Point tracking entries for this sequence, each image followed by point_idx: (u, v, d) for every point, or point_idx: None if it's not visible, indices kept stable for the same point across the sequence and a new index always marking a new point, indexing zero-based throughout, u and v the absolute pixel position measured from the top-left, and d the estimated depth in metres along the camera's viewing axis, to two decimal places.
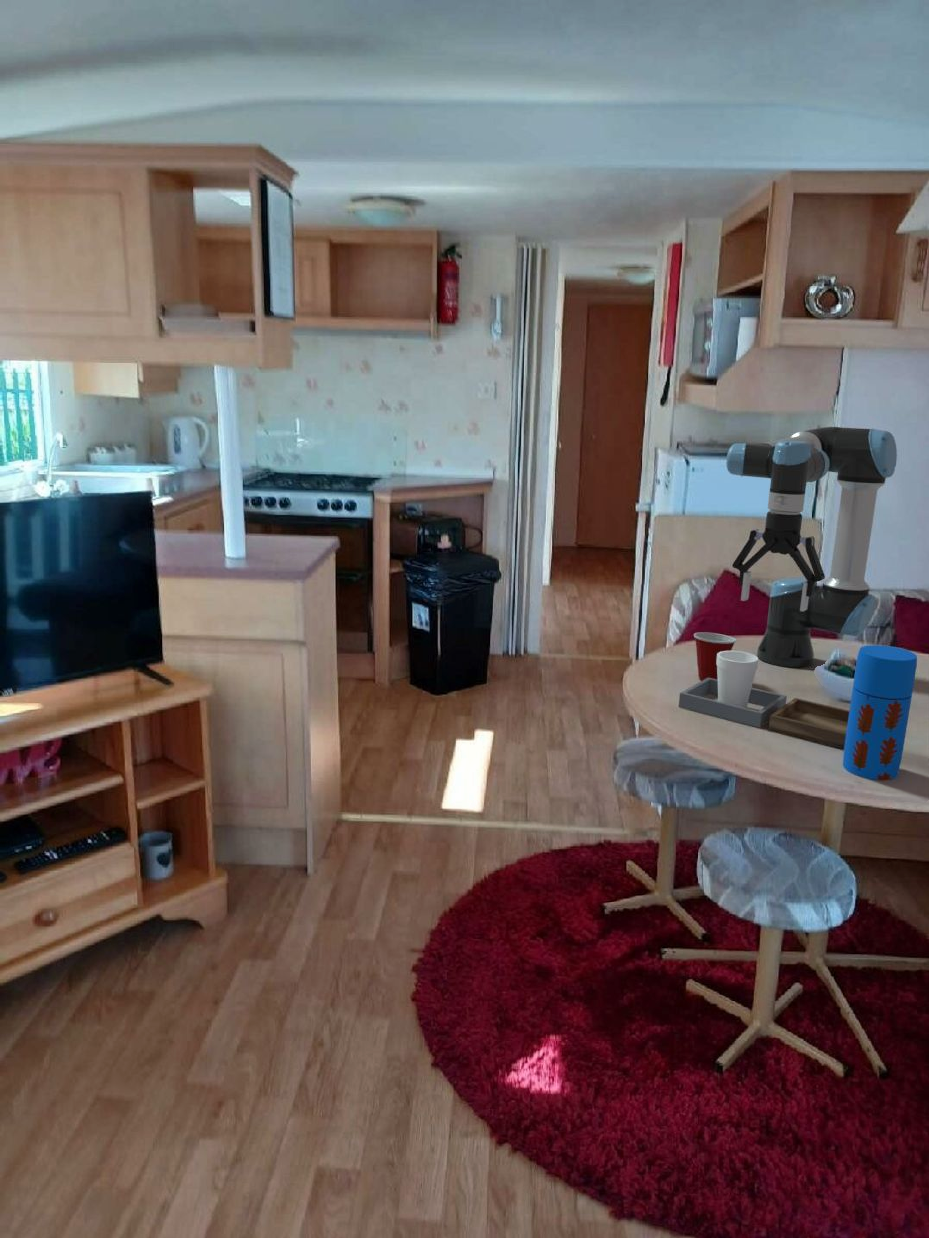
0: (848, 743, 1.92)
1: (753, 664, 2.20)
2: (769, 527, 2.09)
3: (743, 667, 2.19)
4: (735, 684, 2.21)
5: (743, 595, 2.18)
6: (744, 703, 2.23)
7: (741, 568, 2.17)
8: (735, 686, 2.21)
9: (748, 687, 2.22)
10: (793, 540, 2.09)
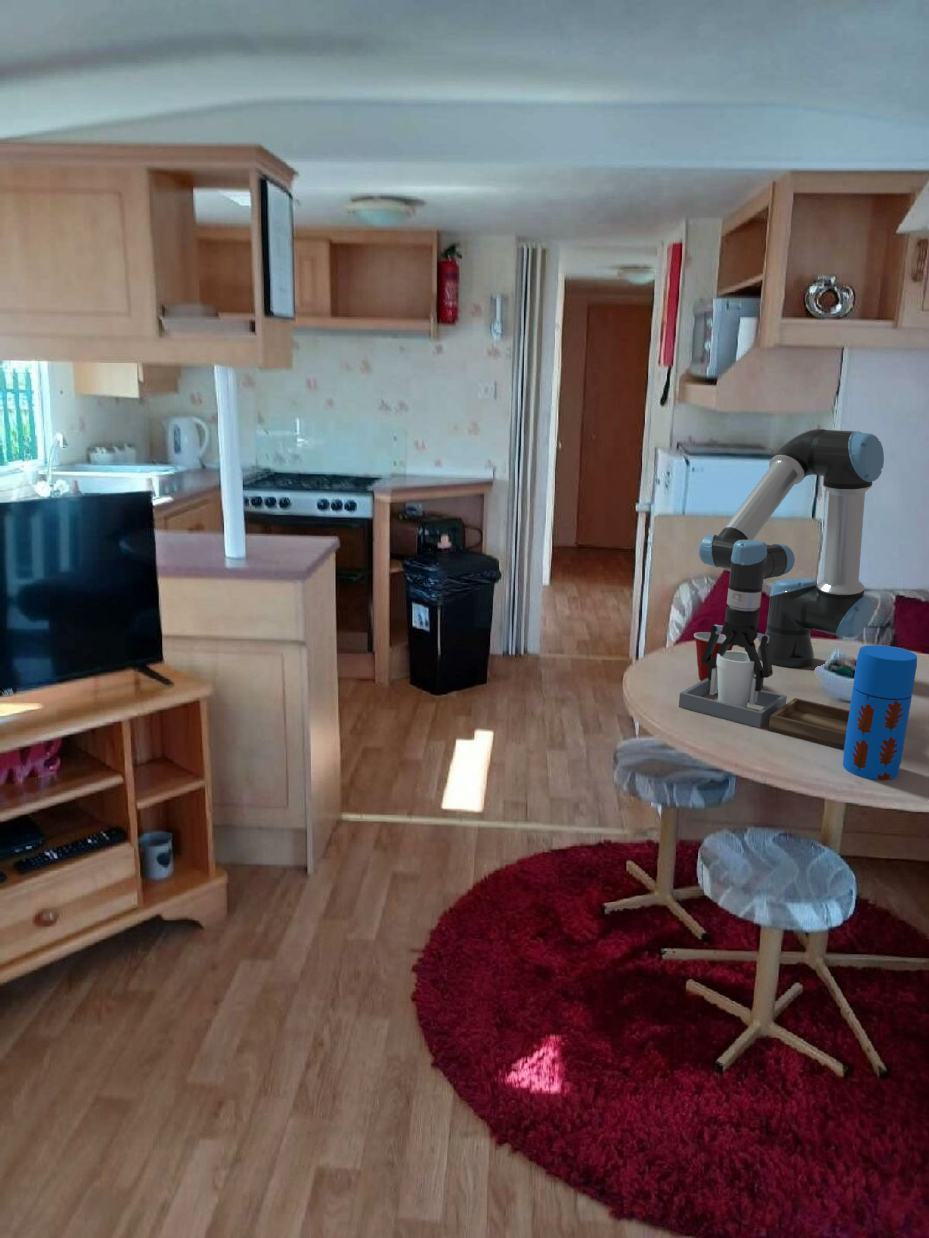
0: (848, 743, 1.92)
1: (753, 664, 2.20)
2: (728, 622, 2.20)
3: (743, 667, 2.19)
4: (735, 684, 2.21)
5: (711, 689, 2.28)
6: (744, 703, 2.23)
7: (709, 664, 2.27)
8: (735, 686, 2.21)
9: (748, 687, 2.22)
10: (750, 634, 2.19)
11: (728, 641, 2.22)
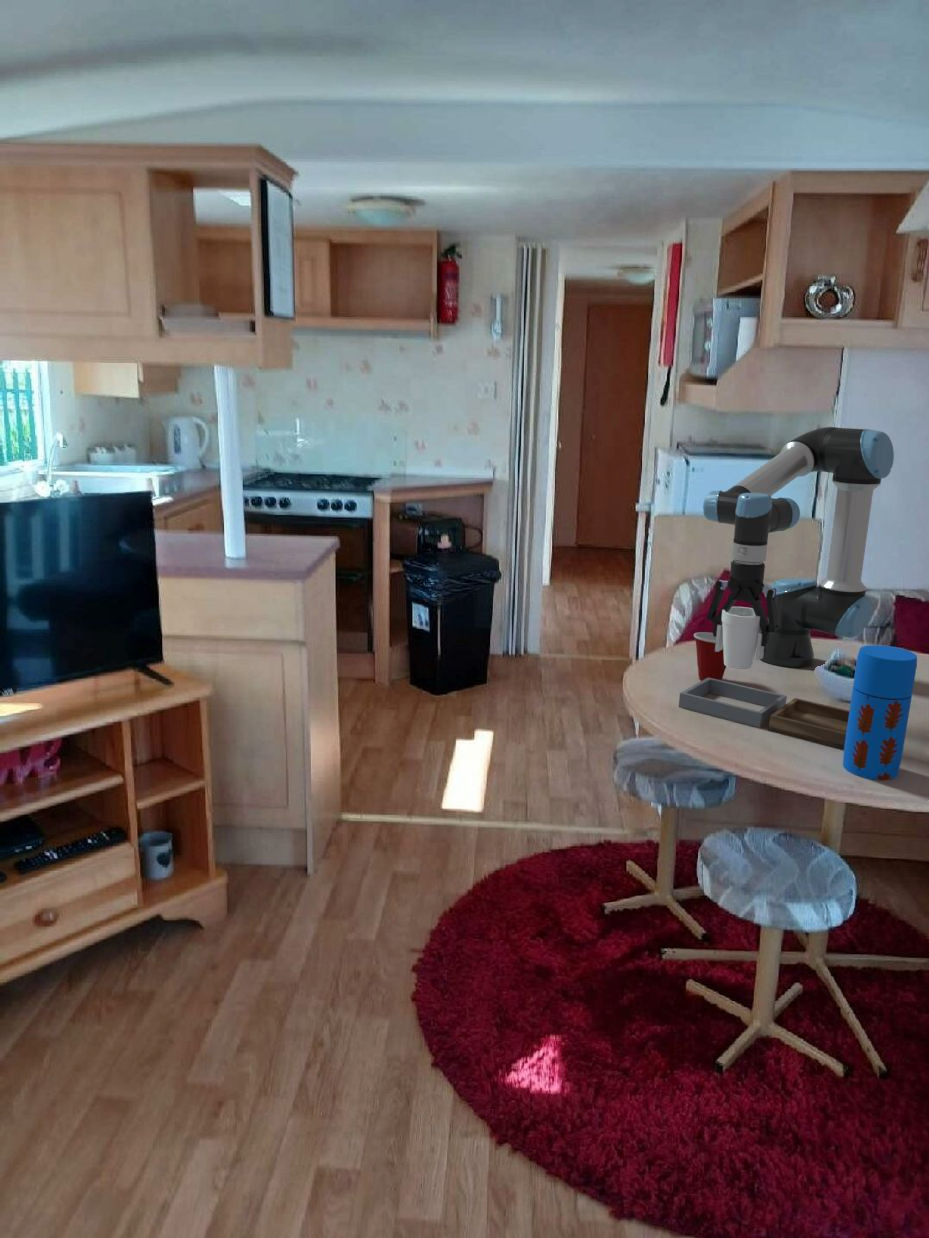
0: (848, 743, 1.92)
1: (759, 619, 2.17)
2: (733, 576, 2.17)
3: (749, 622, 2.17)
4: (741, 639, 2.18)
5: (717, 646, 2.25)
6: (750, 659, 2.21)
7: (715, 620, 2.24)
8: (741, 641, 2.19)
9: (754, 642, 2.19)
10: (756, 588, 2.16)
11: (733, 596, 2.20)
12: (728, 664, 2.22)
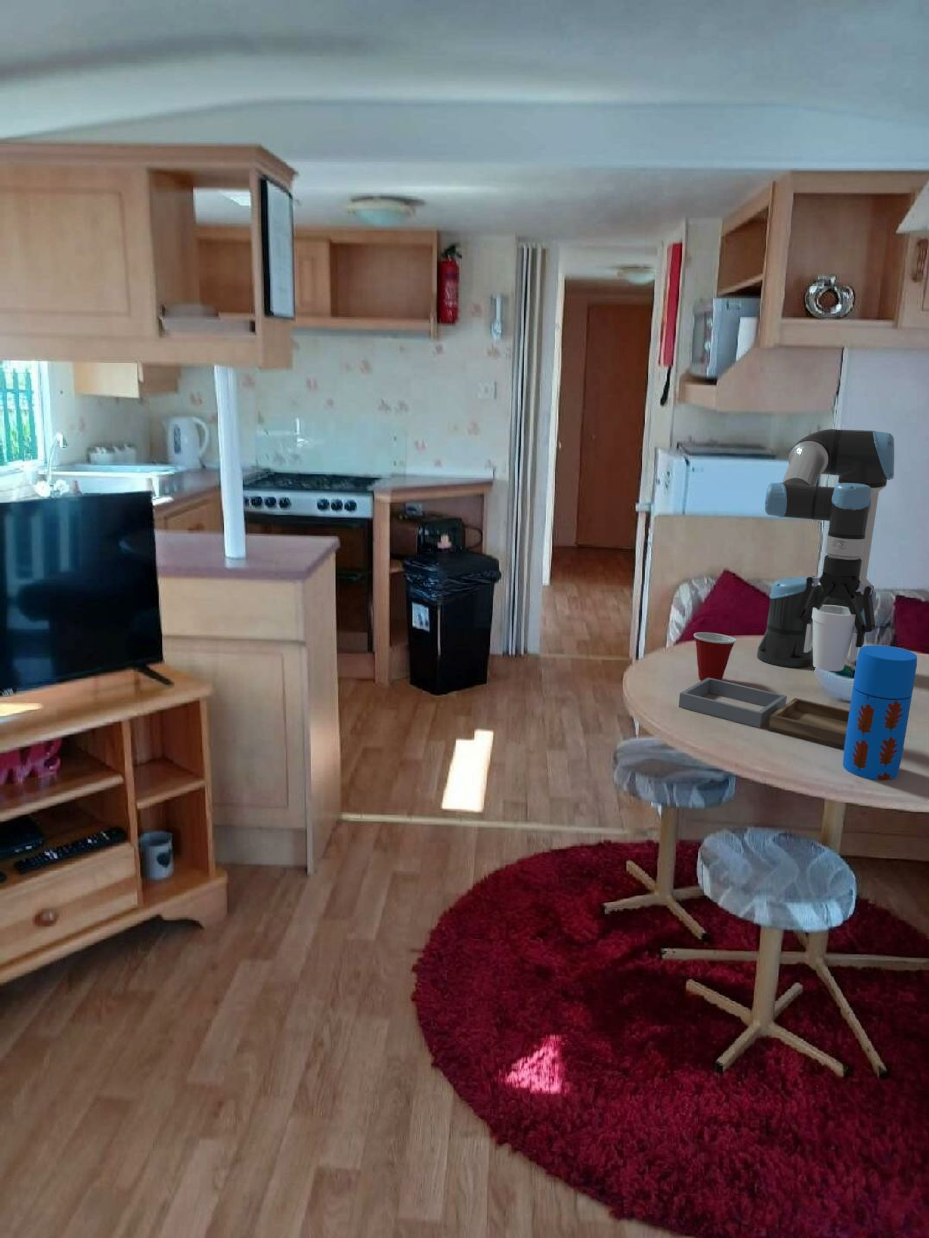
0: (848, 743, 1.92)
1: (854, 617, 2.03)
2: (827, 572, 2.04)
3: (843, 620, 2.03)
4: (834, 639, 2.05)
5: (806, 647, 2.11)
6: (843, 660, 2.07)
7: (804, 619, 2.11)
8: (834, 641, 2.05)
9: (848, 643, 2.06)
10: (852, 585, 2.03)
11: (826, 593, 2.06)
12: (819, 666, 2.09)
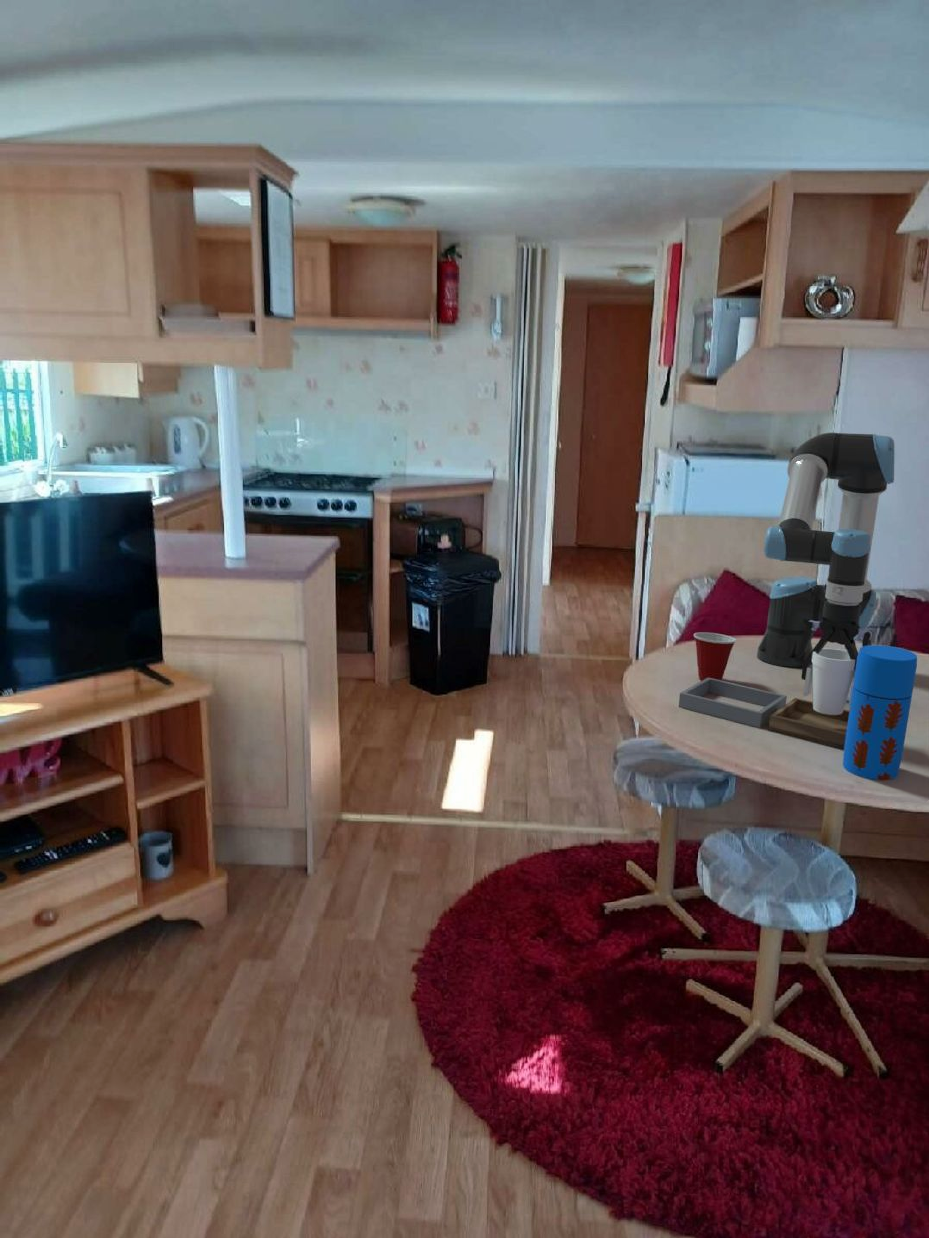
0: (848, 743, 1.92)
1: (854, 662, 2.05)
2: (827, 617, 2.06)
3: (843, 666, 2.05)
4: (834, 684, 2.07)
5: (806, 690, 2.13)
6: (842, 704, 2.09)
7: (804, 662, 2.12)
8: (834, 686, 2.07)
9: (847, 687, 2.08)
10: (851, 630, 2.05)
11: (826, 638, 2.08)
12: (819, 709, 2.10)
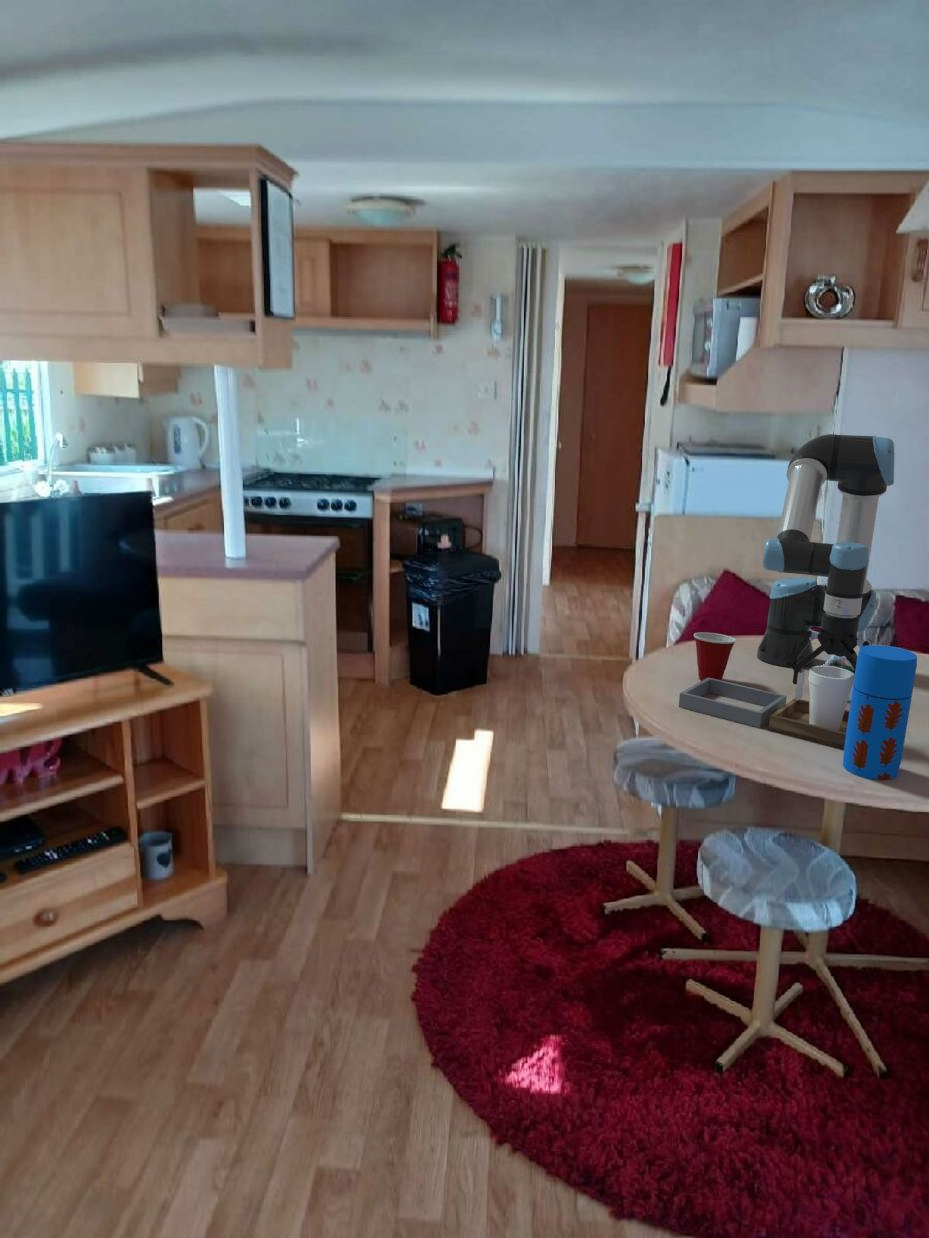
0: (848, 743, 1.92)
1: (850, 681, 2.07)
2: (825, 629, 2.06)
3: (839, 684, 2.06)
4: (830, 702, 2.08)
5: (797, 694, 2.15)
6: (838, 722, 2.10)
7: (795, 667, 2.14)
8: (830, 704, 2.08)
9: (843, 705, 2.09)
10: (849, 642, 2.06)
11: (822, 649, 2.09)
12: None
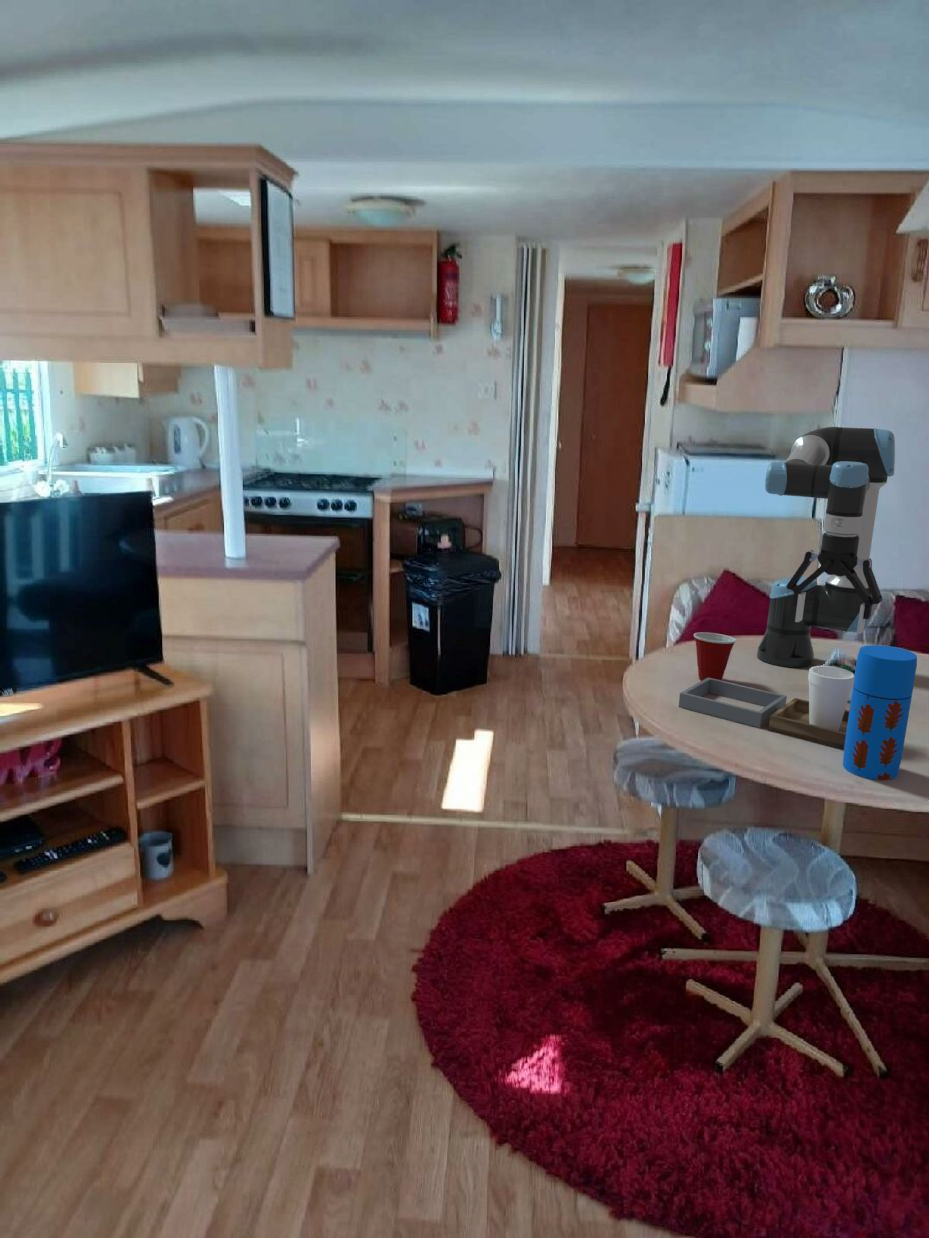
0: (848, 743, 1.92)
1: (850, 681, 2.07)
2: (825, 549, 2.07)
3: (839, 684, 2.06)
4: (830, 702, 2.08)
5: (797, 616, 2.16)
6: (838, 722, 2.10)
7: (796, 589, 2.15)
8: (830, 704, 2.08)
9: (843, 705, 2.09)
10: (849, 562, 2.06)
11: (823, 569, 2.10)
12: None
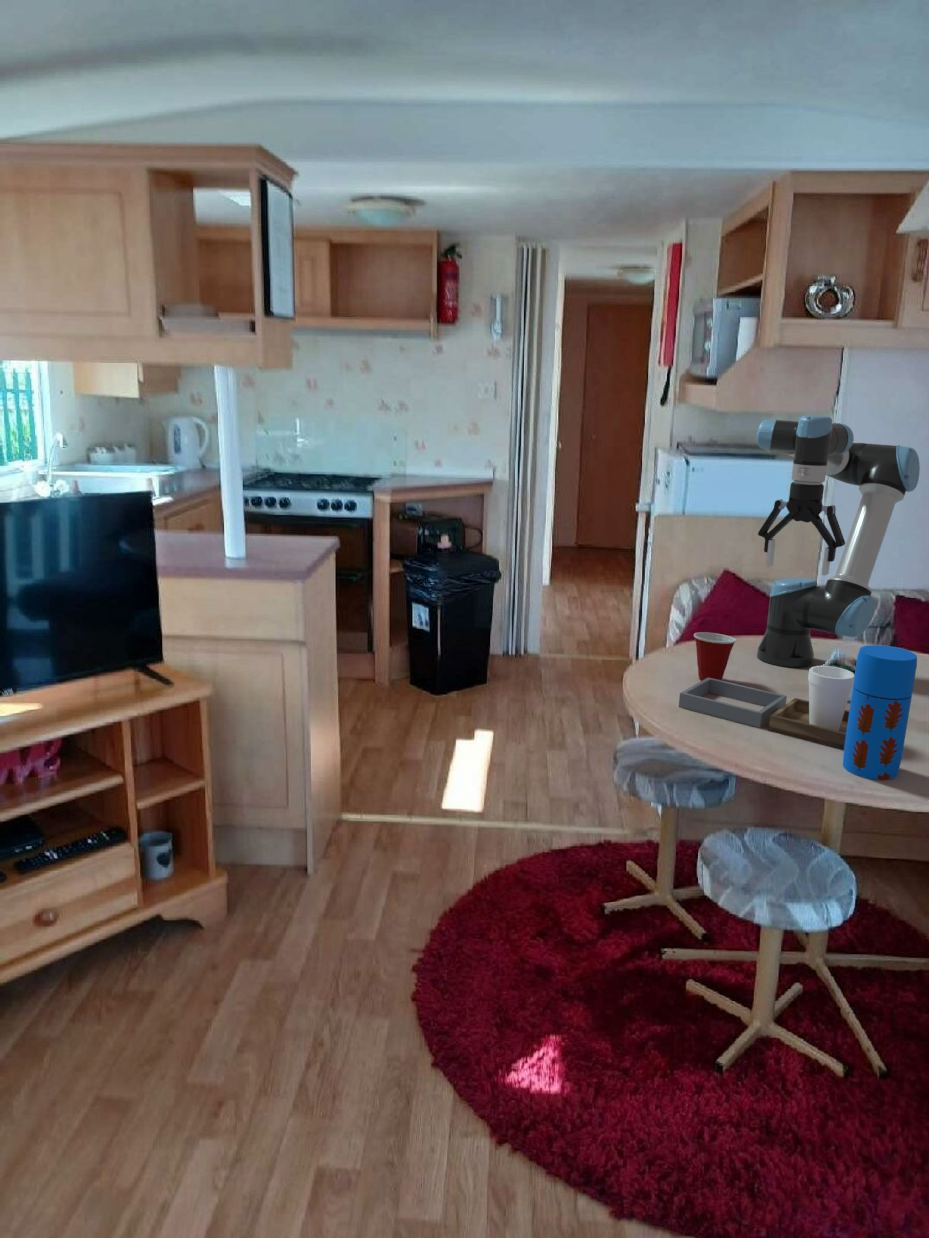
0: (848, 743, 1.92)
1: (850, 681, 2.07)
2: (793, 497, 2.24)
3: (839, 684, 2.06)
4: (830, 702, 2.08)
5: (768, 561, 2.33)
6: (838, 722, 2.10)
7: (766, 536, 2.32)
8: (830, 704, 2.08)
9: (843, 705, 2.09)
10: (815, 508, 2.24)
11: (791, 516, 2.27)
12: None
